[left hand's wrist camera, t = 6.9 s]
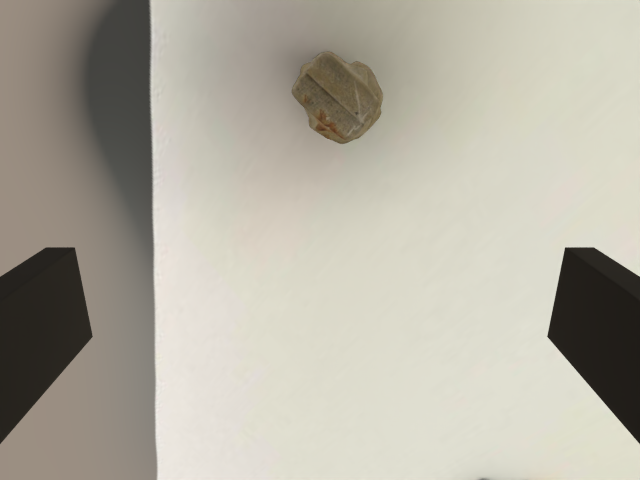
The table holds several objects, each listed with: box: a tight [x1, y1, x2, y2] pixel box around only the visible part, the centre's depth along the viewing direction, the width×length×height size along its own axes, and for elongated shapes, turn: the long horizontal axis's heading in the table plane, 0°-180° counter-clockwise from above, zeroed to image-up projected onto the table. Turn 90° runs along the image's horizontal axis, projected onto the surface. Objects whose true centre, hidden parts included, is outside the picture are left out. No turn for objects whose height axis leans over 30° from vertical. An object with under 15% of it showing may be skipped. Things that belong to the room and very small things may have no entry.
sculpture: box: [292, 52, 383, 144], centre depth 34 cm, size 6×7×15 cm
